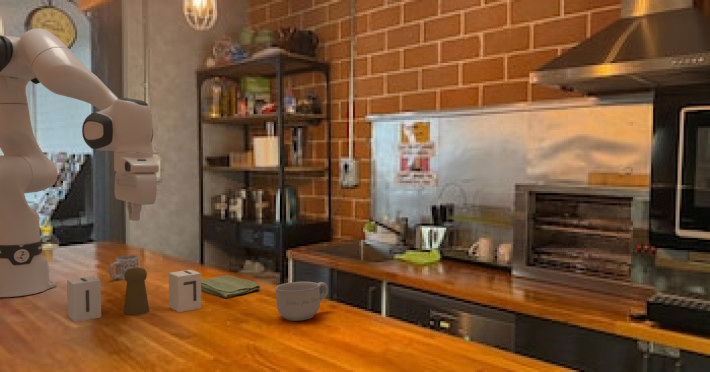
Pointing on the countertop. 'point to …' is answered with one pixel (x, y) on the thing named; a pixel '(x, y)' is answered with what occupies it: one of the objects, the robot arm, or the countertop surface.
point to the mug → (123, 266)
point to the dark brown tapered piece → (136, 292)
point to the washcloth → (228, 286)
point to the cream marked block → (185, 290)
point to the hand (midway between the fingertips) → (134, 220)
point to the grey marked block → (84, 298)
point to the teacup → (299, 299)
